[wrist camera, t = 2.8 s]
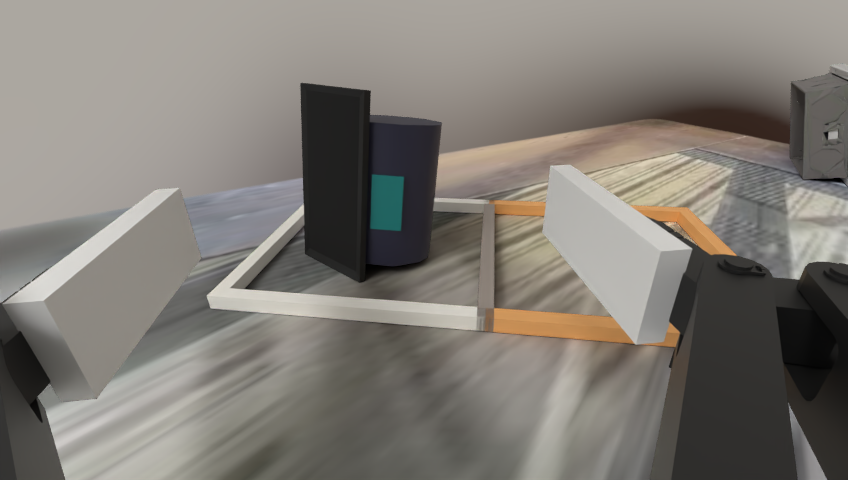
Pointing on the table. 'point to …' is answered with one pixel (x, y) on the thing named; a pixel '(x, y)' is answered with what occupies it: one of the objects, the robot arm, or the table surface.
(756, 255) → the table surface
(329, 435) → the table surface
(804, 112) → the electrical switch
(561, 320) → the rectangular frame
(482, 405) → the table surface
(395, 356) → the table surface
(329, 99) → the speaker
